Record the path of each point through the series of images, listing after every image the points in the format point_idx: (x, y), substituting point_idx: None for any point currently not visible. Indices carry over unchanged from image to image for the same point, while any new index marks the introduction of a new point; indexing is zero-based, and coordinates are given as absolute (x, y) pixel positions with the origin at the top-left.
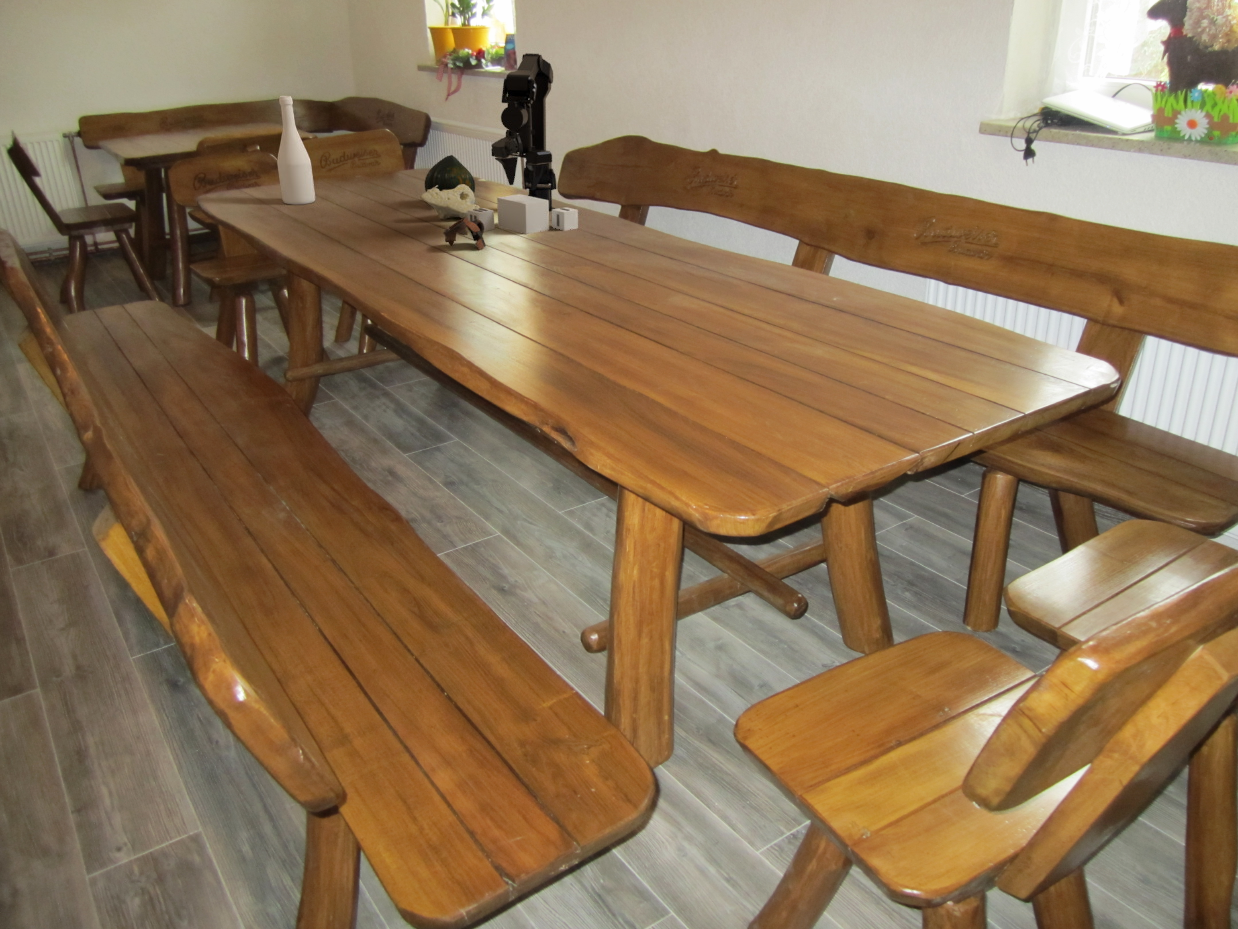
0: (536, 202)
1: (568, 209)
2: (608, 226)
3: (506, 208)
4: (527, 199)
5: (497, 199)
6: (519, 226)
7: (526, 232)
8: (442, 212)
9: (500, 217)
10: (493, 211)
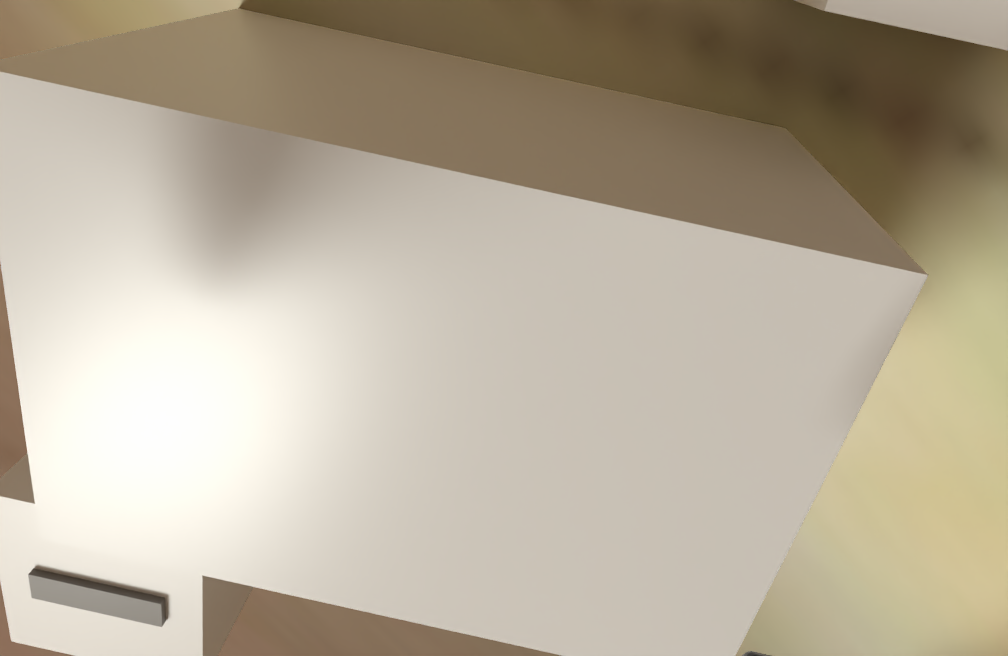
0: (13, 327)
1: (52, 599)
2: (20, 647)
3: (613, 157)
4: (316, 438)
5: (901, 256)
6: (345, 44)
7: (231, 12)
8: None
9: (755, 146)
10: (822, 2)
